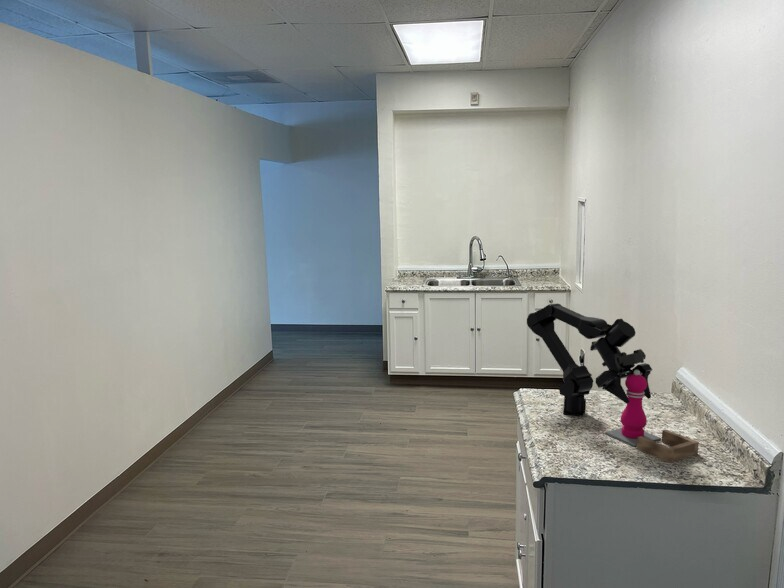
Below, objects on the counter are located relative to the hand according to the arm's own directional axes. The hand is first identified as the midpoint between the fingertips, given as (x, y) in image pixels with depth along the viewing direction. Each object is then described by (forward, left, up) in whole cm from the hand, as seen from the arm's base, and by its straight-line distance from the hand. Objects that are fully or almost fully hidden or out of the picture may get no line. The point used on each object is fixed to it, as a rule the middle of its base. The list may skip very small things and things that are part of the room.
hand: (639, 400), depth 177 cm
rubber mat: (-1, +1, -12) cm, 12 cm away
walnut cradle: (+7, -7, -12) cm, 15 cm away
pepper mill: (-1, +1, -11) cm, 11 cm away
